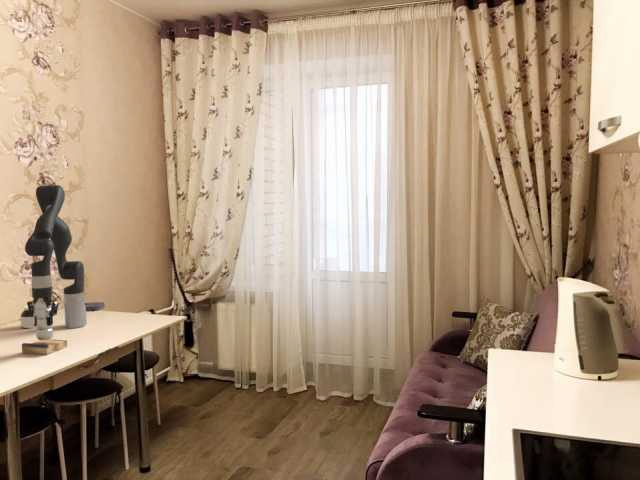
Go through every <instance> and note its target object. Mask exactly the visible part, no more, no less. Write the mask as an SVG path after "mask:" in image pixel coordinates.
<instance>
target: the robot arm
mask: <svg viewBox="0 0 640 480" xmlns="http://www.w3.org/2000/svg"><path fill="white" fill-rule="evenodd" d="M35 197H36V200H37V203H38V206H39V208H40V210H41V214H40V216H39V217H38V219H36V221H35V226H34V229H33V232H32V233H31V235H30V236H29V238H28V239H27V241H26V242H25V245H24V252H25V254H26V255H28V256H30V257H43V259H41V260H37V261H33V262H32V263H31V266H30V267H31V281H30V283H31V297H32V298H33V299H32V300H29V301H27V302H26V304H27V305H26V306H28V309H29V314H30V315H33V316H34V320H35V325H37V318H36V312H35V308H34V306H35V304H36V303H37V301H38V298H43V301H44V302H45V303H46V305H47V306H49V304H50V305H51V306H52V307H51V309H49V310H47V309H46V308H45V312H46V315H47V326H51V325H53V324H54V319H53V317H54V316H56V315H58V310H59V301H55V300H53V299H52V297H53V285H52V284H53V281H52V276H51V263H52V258H53V252H54V255H55V256H54V257H55V261H56V266H57V271H58V275H59V277H60V278H61V280H66V281H67V280H69V281H70V280H74V282H73V283H72V284H71V285H68V286H65V287H64V288H63V304H64V305H63V306H64V324H65V325H64V326H65V328H66V329H75V328H76V329H77V328H82V327H85V326H86V325H87V311H86V306H85V305H84V303H85V267H84V263H83V262H82V261H79V260H75V261H74V260H73V261H71V260H70V261H68V260H67V257H66V255H67V251H68V249H69V248H70V246H71V244H72V239H73V238H72V233H71V230H70V226H69V225H68V224H67V223H66V221H65V220H63V219H62V217H59V214H60V212H61V209H62V208H63V205H64V202H65V199H66V194H65V190H64V187H63V186H61V185H58V184H55V185H53V184H50V185H40V186H37V187H36V189H35ZM42 303H43V302H42ZM32 310H33V312H32ZM49 311H50V314H49Z"/></svg>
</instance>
